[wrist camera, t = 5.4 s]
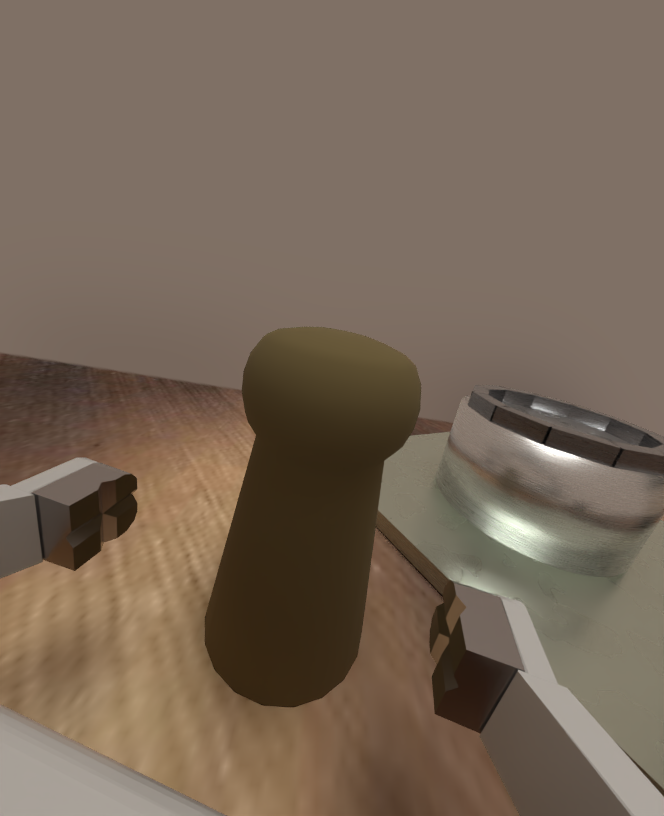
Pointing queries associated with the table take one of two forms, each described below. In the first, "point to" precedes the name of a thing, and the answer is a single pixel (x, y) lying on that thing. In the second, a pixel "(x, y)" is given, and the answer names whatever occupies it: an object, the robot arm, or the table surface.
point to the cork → (307, 510)
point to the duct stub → (550, 542)
